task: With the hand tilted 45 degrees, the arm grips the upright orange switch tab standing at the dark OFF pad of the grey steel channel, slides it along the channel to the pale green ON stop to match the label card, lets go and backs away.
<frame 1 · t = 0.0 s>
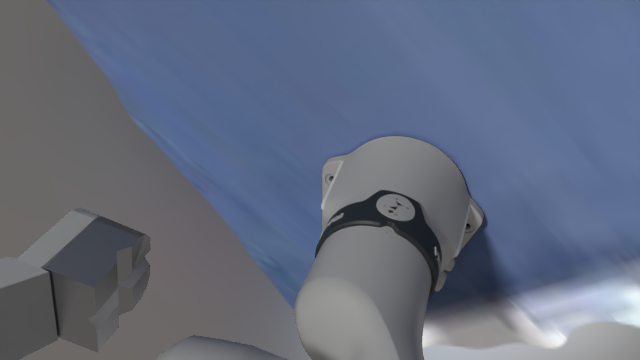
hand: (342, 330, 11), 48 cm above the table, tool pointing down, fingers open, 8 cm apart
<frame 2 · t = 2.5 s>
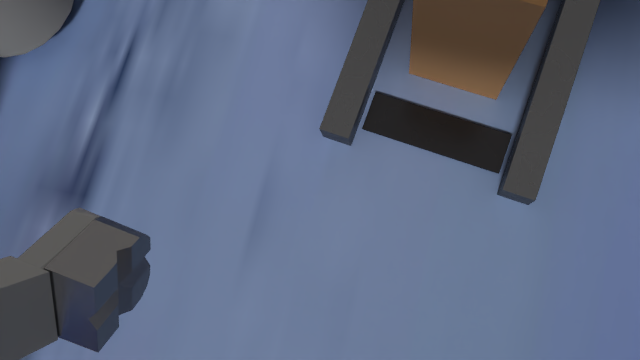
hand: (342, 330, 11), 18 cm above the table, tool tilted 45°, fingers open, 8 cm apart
tab: (464, 50, 30), resting in switch channel
can: (25, 2, 34), on the table
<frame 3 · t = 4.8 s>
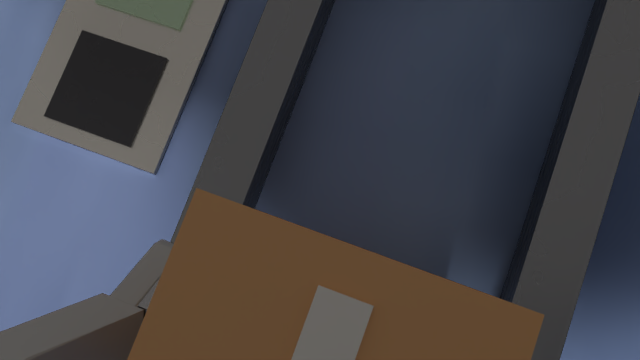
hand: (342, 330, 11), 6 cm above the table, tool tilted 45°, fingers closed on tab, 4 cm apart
tab: (344, 336, 17), resting in switch channel, touching gripper
switch channel: (406, 158, 17), on the table
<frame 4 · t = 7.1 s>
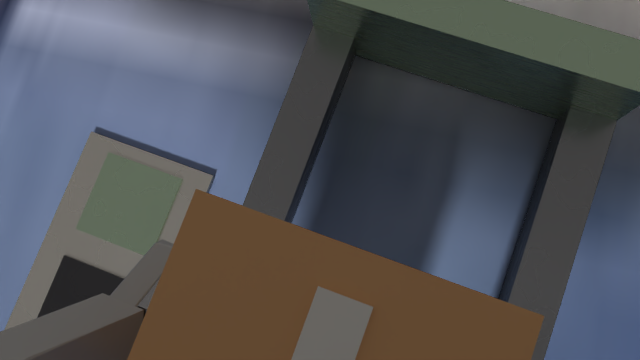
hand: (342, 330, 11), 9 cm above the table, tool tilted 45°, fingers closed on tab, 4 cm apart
tab: (344, 337, 17), point 3 cm above the table, touching gripper
when the fingers open (7 cm above the table, at t = 9.2 s): tab stays where it is, resting in switch channel.
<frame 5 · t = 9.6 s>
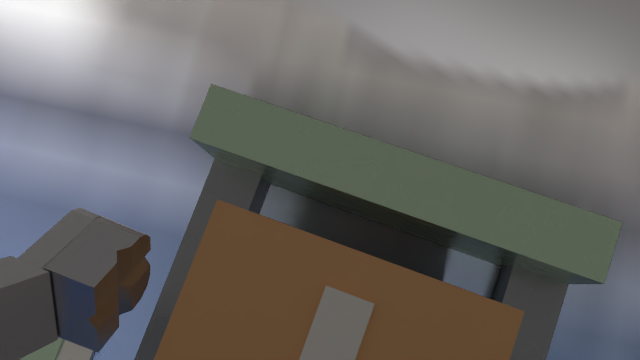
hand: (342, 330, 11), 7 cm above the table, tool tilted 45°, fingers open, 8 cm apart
tab: (346, 334, 18), resting in switch channel
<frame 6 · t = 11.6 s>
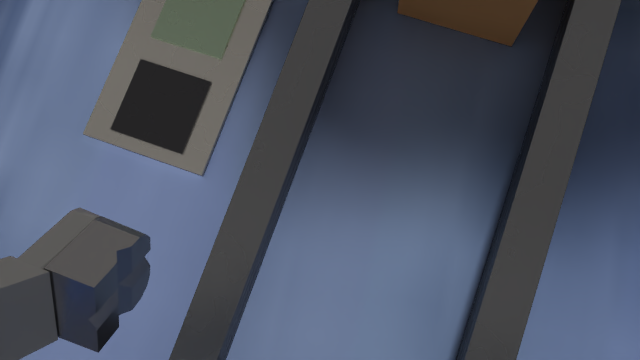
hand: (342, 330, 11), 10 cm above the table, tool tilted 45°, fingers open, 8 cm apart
switch channel: (406, 161, 22), on the table
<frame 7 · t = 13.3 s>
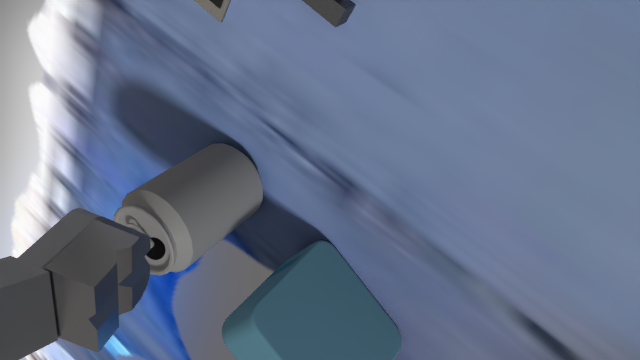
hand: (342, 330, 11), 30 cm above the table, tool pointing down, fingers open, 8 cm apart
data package: (351, 292, 54), on the table
can: (236, 176, 55), on the table
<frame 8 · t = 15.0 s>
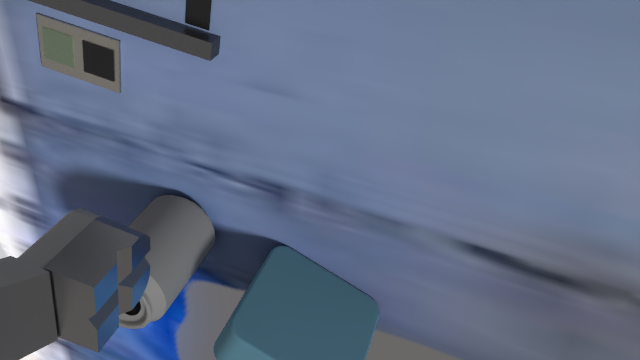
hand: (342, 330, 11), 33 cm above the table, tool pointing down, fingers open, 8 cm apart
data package: (321, 282, 58), on the table
can: (186, 219, 60), on the table
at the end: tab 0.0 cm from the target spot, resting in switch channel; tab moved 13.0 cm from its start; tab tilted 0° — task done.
